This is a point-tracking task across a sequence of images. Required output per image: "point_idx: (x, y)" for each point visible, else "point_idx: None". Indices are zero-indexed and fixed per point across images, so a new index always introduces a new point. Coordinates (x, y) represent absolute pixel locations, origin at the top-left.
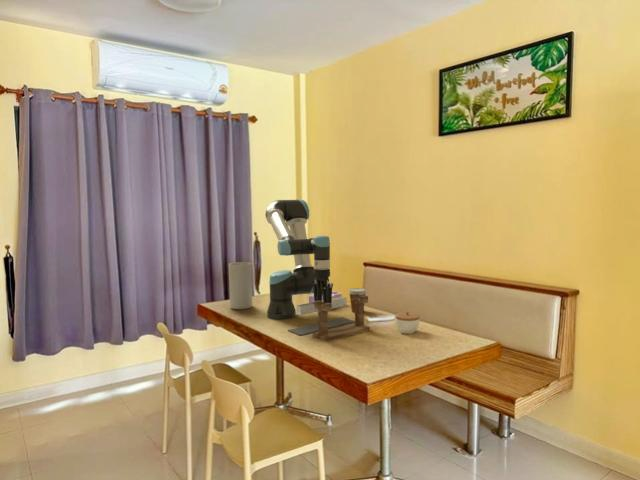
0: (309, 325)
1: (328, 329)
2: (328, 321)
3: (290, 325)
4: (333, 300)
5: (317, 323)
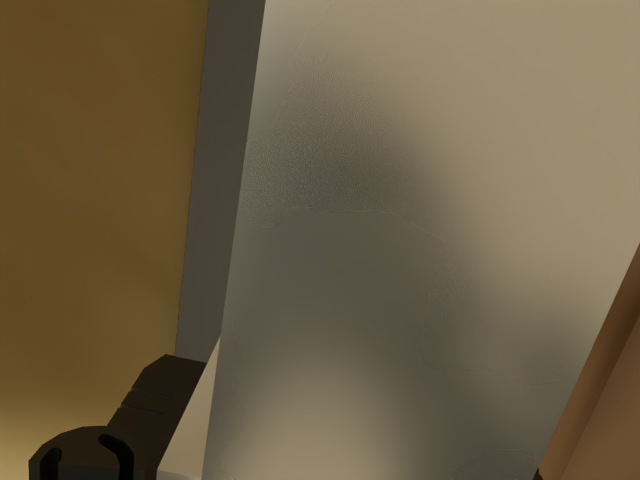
0: (199, 355)
1: (597, 438)
2: (258, 14)
3: (4, 429)
4: (622, 258)
5: (207, 222)
